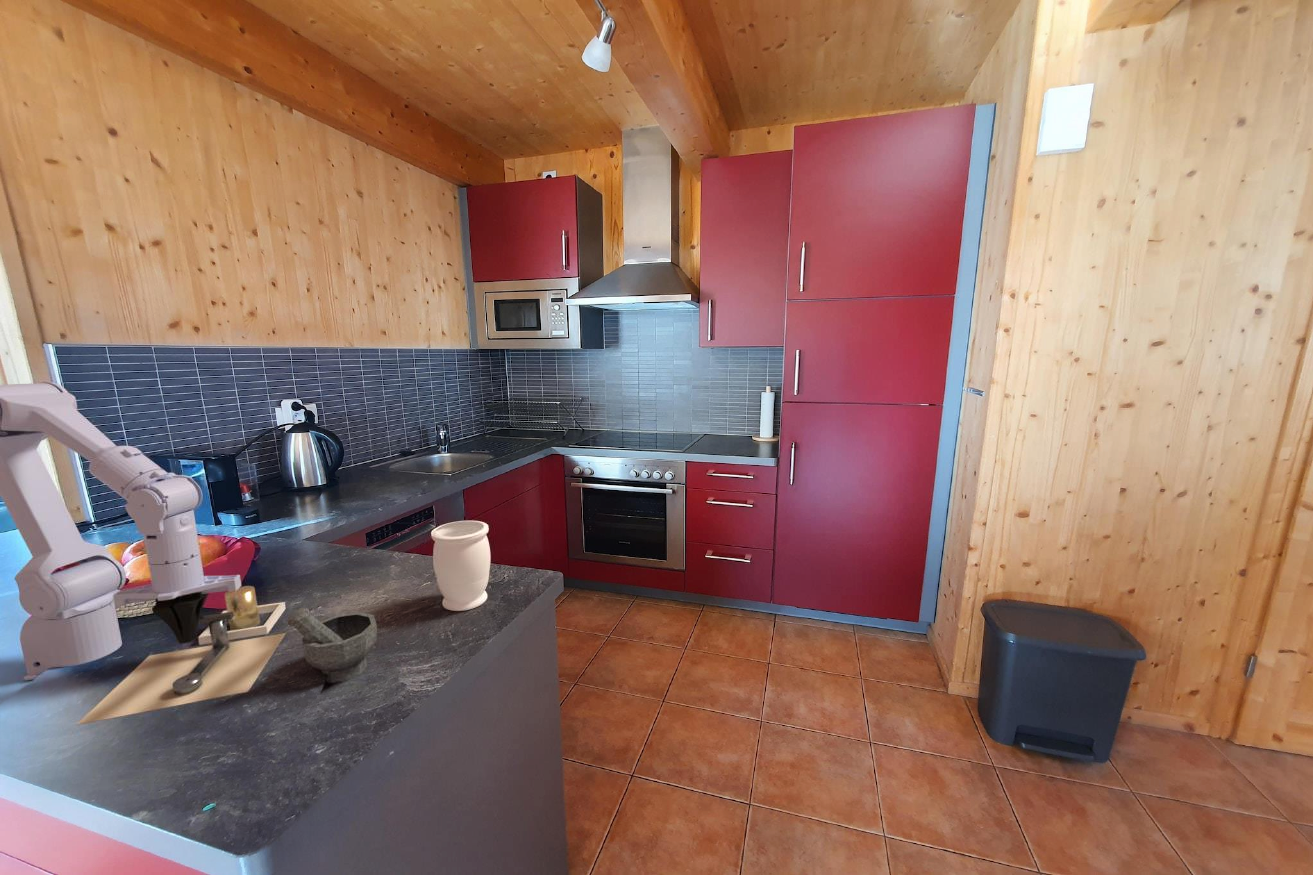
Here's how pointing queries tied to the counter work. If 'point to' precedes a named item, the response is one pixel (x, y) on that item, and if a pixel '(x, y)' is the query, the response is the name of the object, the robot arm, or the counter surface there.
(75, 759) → the counter surface
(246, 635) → the tray
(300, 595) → the counter surface
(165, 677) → the crank board
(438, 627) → the counter surface
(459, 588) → the jar
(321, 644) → the mortar and pestle
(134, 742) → the counter surface
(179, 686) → the crank
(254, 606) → the brass cylinder
